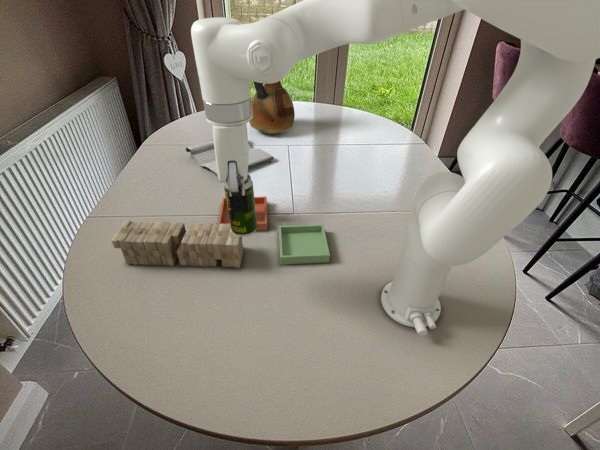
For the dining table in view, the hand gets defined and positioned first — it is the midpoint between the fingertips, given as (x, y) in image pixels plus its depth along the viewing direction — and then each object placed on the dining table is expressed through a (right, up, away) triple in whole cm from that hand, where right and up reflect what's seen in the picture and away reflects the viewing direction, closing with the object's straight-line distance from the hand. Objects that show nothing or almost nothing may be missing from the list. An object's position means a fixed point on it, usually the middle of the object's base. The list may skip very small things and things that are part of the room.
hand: (241, 201), depth 64 cm
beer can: (0, -6, +4) cm, 7 cm away
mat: (-15, +20, +60) cm, 65 cm away
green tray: (+12, -10, +23) cm, 28 cm away
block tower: (-18, -12, +20) cm, 29 cm away
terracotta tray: (-5, -2, +33) cm, 33 cm away
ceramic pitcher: (-1, +38, +83) cm, 92 cm away
